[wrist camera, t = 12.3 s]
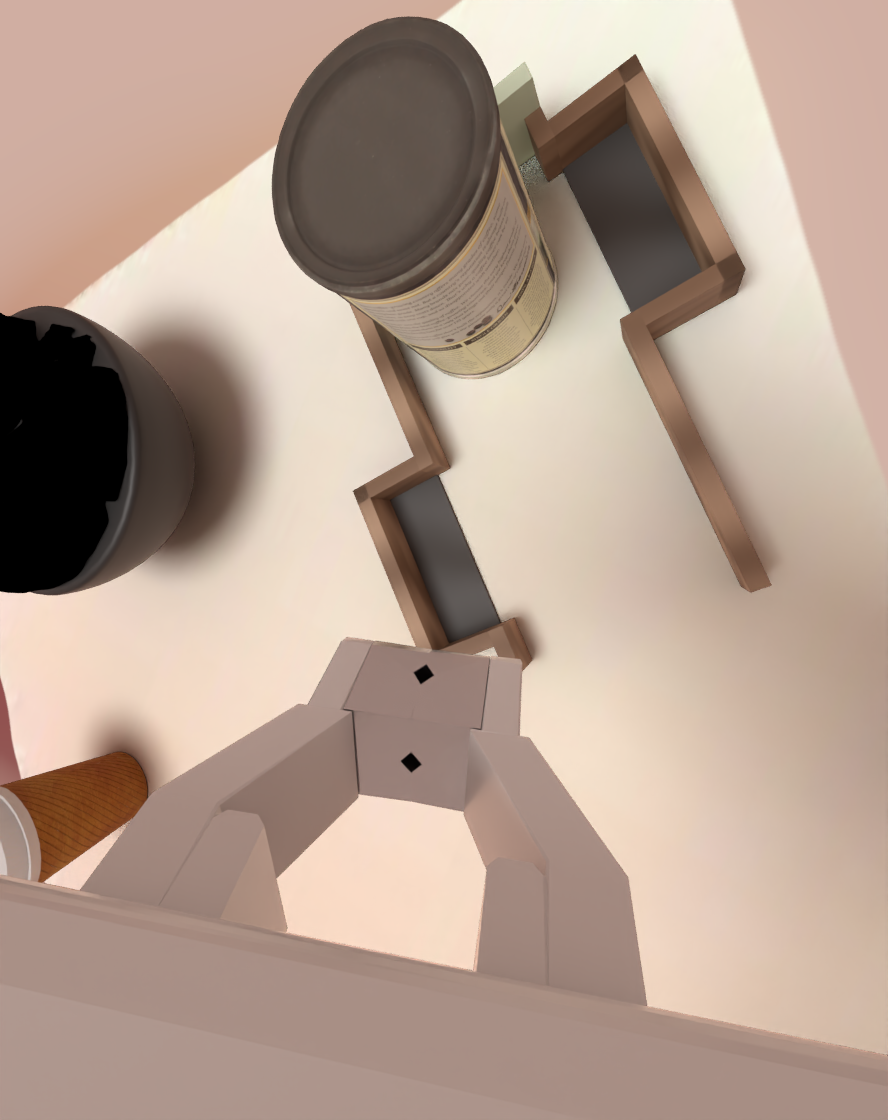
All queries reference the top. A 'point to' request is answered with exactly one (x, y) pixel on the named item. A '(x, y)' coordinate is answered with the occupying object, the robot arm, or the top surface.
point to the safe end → (517, 110)
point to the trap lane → (656, 308)
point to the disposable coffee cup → (66, 813)
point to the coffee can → (415, 198)
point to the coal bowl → (83, 454)
